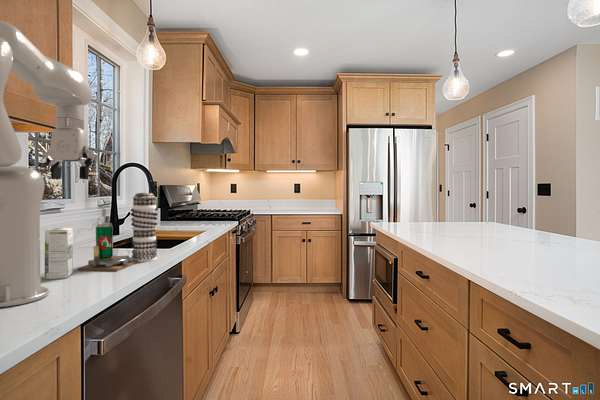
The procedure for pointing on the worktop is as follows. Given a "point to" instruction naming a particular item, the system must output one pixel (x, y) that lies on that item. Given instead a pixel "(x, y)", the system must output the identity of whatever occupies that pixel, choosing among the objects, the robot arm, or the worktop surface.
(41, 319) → the worktop surface
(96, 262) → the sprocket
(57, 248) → the syrup box
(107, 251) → the soda can
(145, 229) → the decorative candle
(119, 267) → the base board
